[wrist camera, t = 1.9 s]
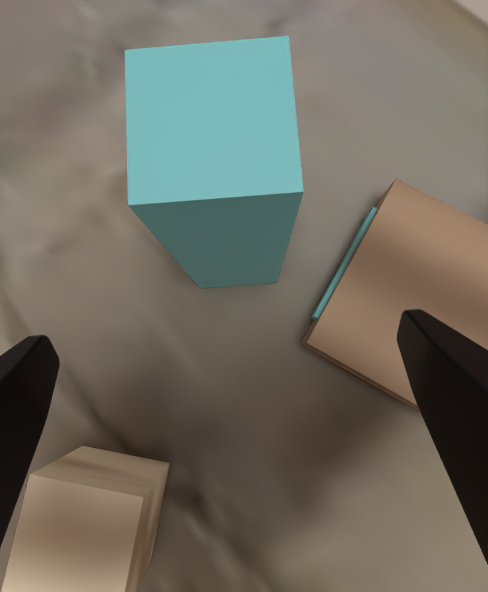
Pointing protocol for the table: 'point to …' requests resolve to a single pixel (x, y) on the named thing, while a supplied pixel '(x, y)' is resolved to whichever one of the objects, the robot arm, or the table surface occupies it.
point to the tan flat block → (402, 286)
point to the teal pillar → (215, 155)
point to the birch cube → (87, 524)
